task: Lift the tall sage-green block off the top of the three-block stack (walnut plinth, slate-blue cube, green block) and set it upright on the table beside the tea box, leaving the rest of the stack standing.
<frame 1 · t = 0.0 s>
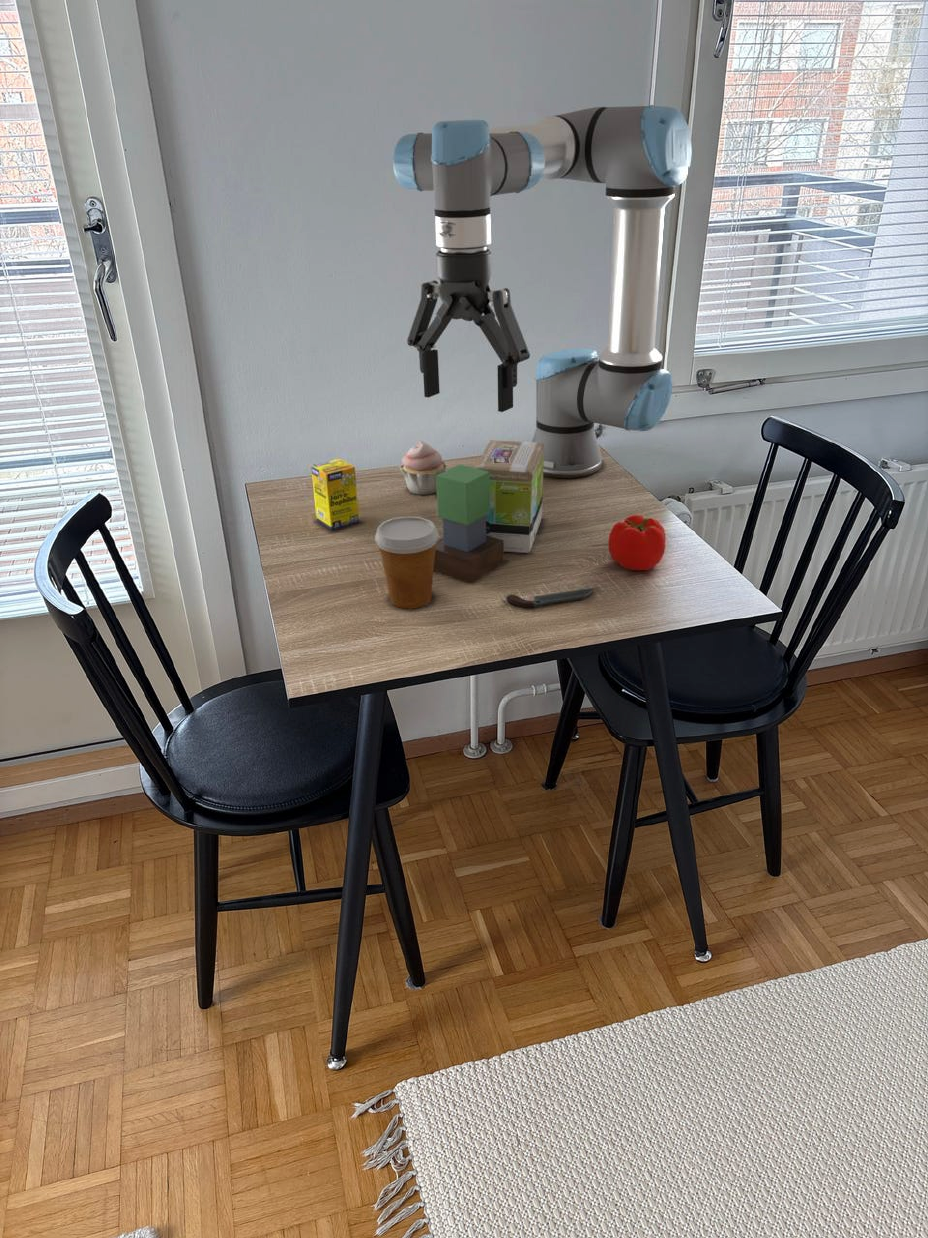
hand: (467, 402, 137), 28 cm above the table, tool pointing down, fingers open, 13 cm apart
disposable coffee cup: (411, 600, 144), on the table
tomato: (637, 565, 152), on the table
walnut plinth: (465, 565, 153), on the table, touching slate block
green block: (464, 514, 149), point 9 cm above the table, touching slate block
slate block: (465, 543, 151), point 4 cm above the table, touching green block, walnut plinth
supplement box: (338, 523, 170), on the table
tea box: (509, 535, 163), on the table
knife: (553, 599, 142), on the table
cupcake: (424, 490, 183), on the table
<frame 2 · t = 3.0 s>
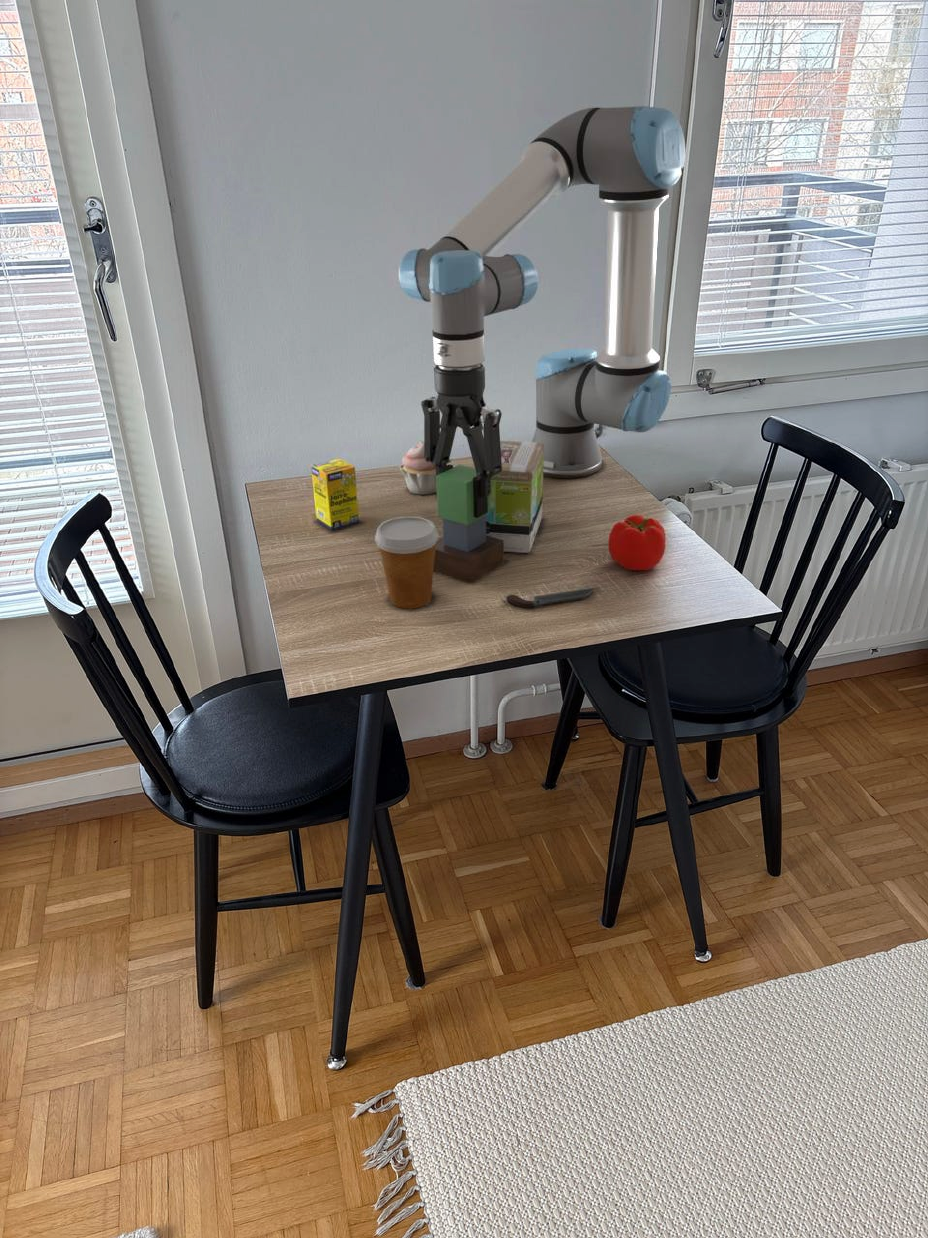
hand: (463, 509, 148), 10 cm above the table, tool pointing down, fingers closed on green block, 6 cm apart
green block: (464, 514, 149), point 9 cm above the table, touching gripper, slate block
everything else where it was.
when the fingers open (1 cm above the table, at t = 10.6 s): green block stays where it is, on the table.
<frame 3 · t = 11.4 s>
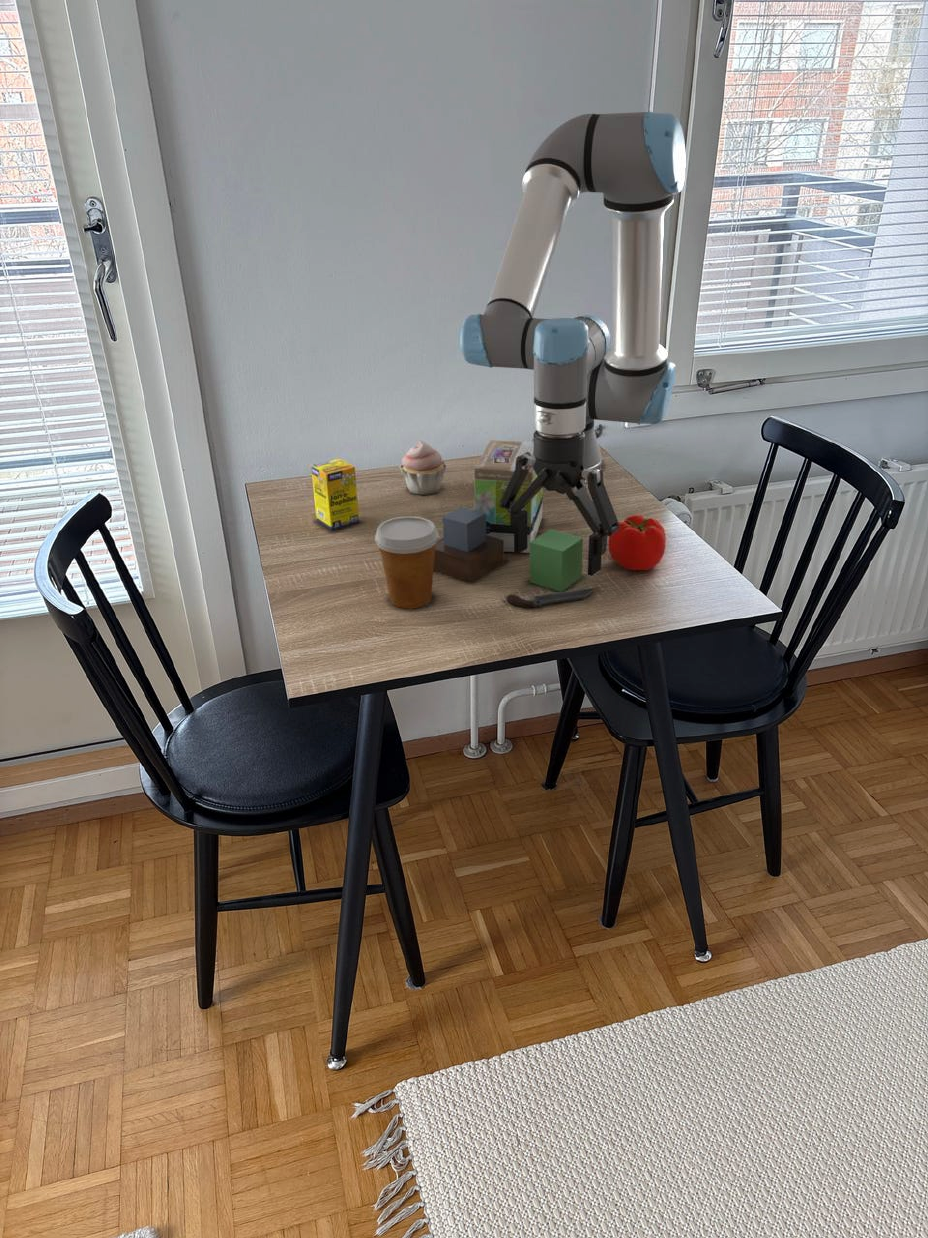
hand: (556, 561, 146), 3 cm above the table, tool pointing down, fingers open, 13 cm apart
green block: (555, 579, 148), on the table
slate block: (465, 543, 151), point 4 cm above the table, touching walnut plinth
everything else where it was.
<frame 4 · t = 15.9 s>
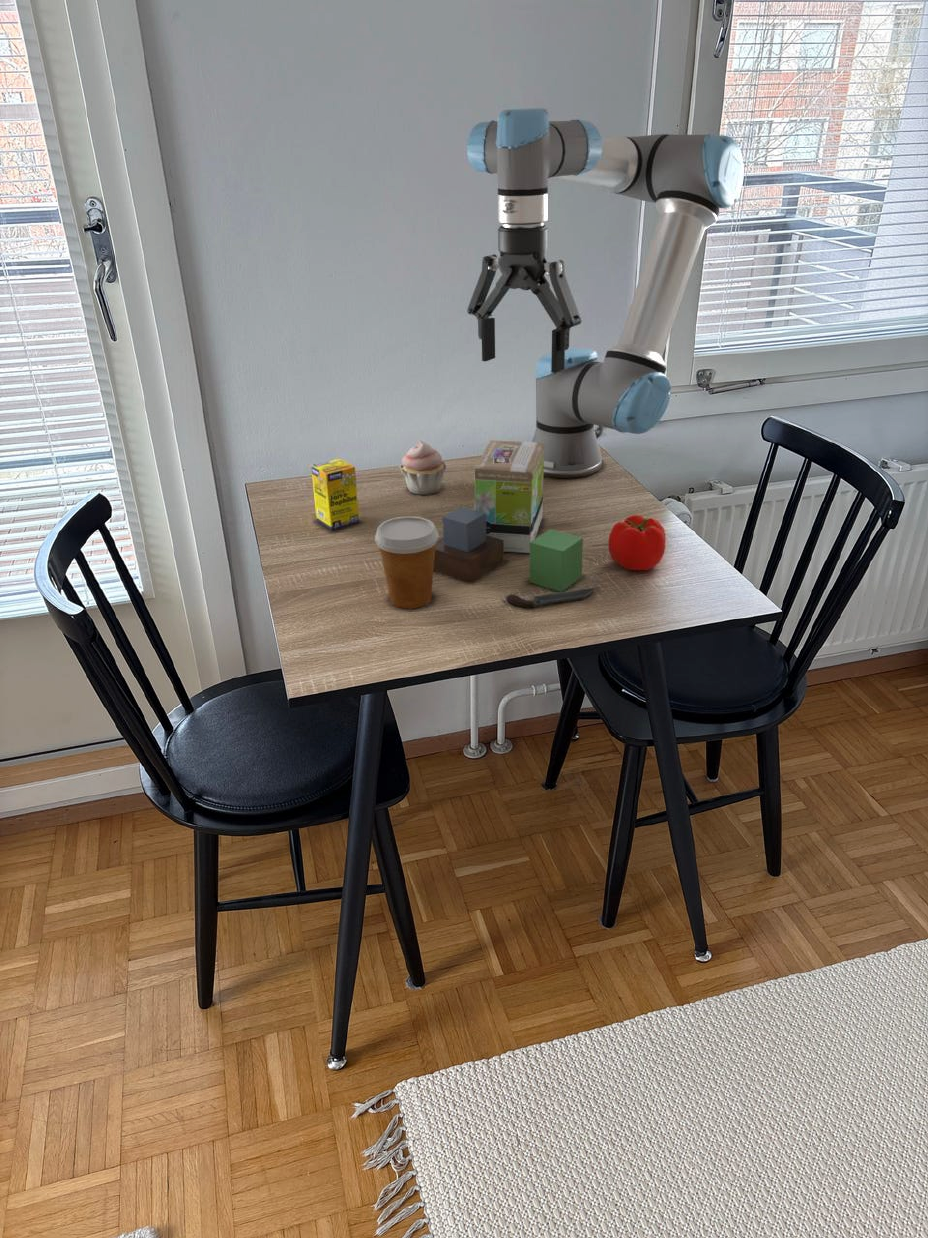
hand: (522, 365, 152), 29 cm above the table, tool pointing down, fingers open, 13 cm apart
nothing on the table moved.
at the end: green block inside the target area (0.2 cm from its centre), on the table; green block tilted 0°; slate block moved 0.0 cm from its start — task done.
